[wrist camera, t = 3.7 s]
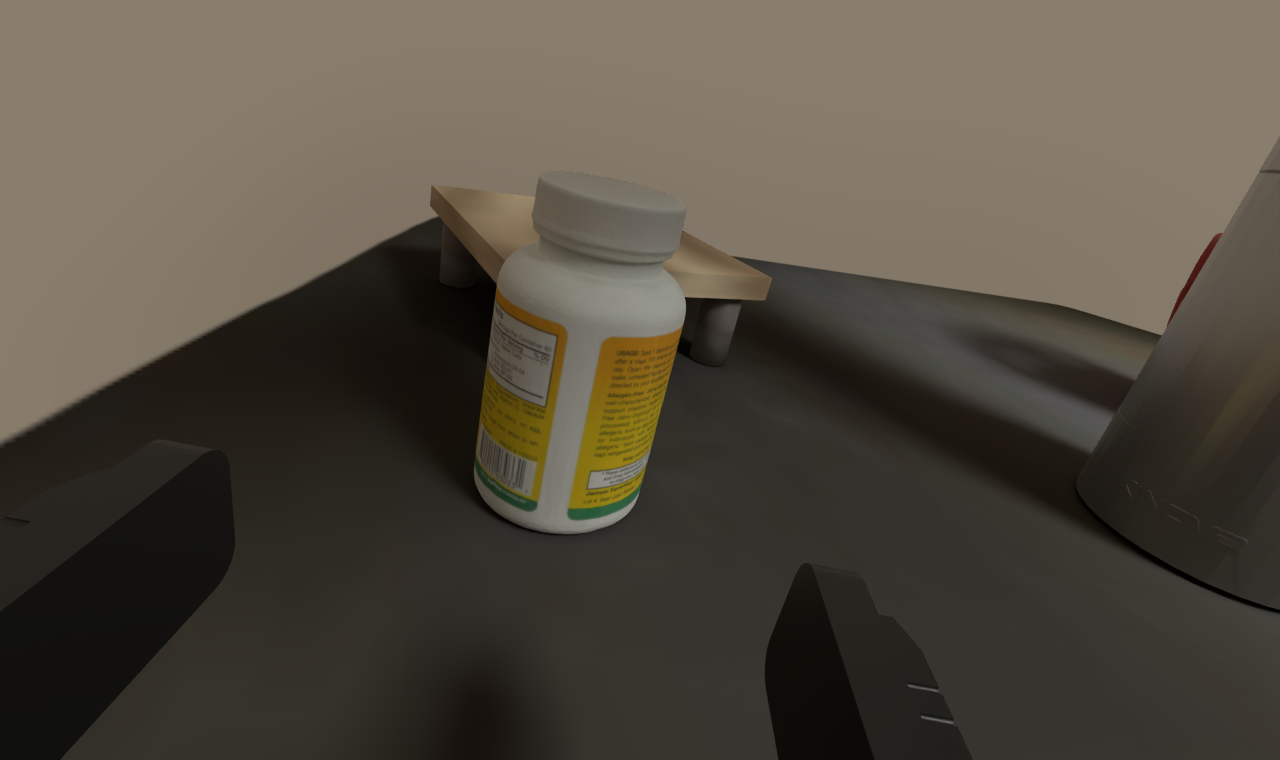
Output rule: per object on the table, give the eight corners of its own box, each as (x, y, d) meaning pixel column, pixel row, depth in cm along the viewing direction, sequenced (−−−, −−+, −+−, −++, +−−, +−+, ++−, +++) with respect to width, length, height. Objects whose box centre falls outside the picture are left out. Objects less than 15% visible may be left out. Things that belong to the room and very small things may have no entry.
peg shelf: (628, 283, 45) (643, 210, 43) (744, 369, 34) (772, 278, 32) (425, 272, 38) (431, 184, 35) (490, 377, 27) (504, 260, 25)
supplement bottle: (451, 523, 18) (487, 178, 14) (492, 431, 23) (527, 156, 19) (637, 555, 19) (723, 228, 15) (638, 457, 24) (702, 194, 20)
